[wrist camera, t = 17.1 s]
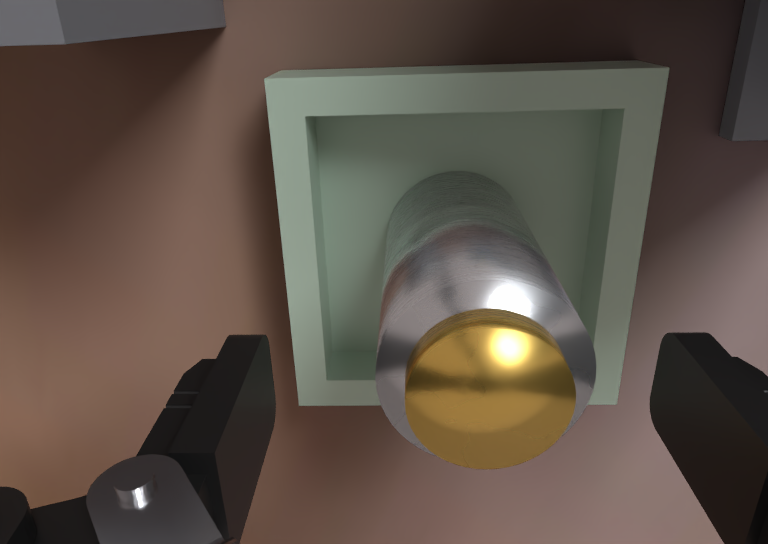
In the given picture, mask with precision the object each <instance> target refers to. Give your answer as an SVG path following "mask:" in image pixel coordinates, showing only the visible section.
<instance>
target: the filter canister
mask: <svg viewBox="0 0 768 544" xmlns="http://www.w3.org/2000/svg"><path fill="white" fill-rule="evenodd" d="M595 380H596V357H595V351H594V347H593V344H592V341H591V338H590V336H589V334H588V332H587V330H586V328H585V326H584V324H583V323H582V321H581V319H580V317H579V315H578V314H577V312H576V310H575V308H574V306H573V305H572V303H571V301H570V299H569V298H568V296H567V294H566V292H565V290H564V289H563V287H562V285H561V283H560V281H559V280H558V278H557V276H556V274H555V272H554V271H553V269H552V267H551V265H550V264H549V262H548V260H547V258H546V256H545V255H544V253H543V251H542V249H541V247H540V246H539V244H538V242H537V240H536V238H535V237H534V235H533V233H532V231H531V230H530V228H529V226H528V224H527V222H526V221H525V219H524V217H523V215H522V213H521V212H520V210H519V208H518V206H517V204H516V203H515V201H514V200H513V198H512V197H511V196H510V194H509V193H508V192H507V191H506V190H505V189H504V188H503V187H502V186H500V185H499V184H498V183H496V182H495V181H493V180H492V179H489V178H487V177H485V176H483V175H480V174H477V173H472V172H467V171H449V172H443V173H438V174H435V175H432V176H429V177H427V178H425V179H423V180H421V181H420V182H418V183H417V184H415V185H414V186H412V187H411V188H410V189H409V190H408V191H407V192H406V193H405V194H404V195H403V196H402V197H401V198H400V200H399V201H398V203H397V204H396V206H395V208H394V210H393V212H392V214H391V217H390V220H389V223H388V229H387V239H386V251H385V263H384V275H383V287H382V299H381V311H380V322H379V334H378V346H377V358H376V374H375V381H376V390H377V394H378V398H379V401H380V404H381V406H382V408H383V411H384V413H385V415H386V416H387V418H388V419H389V421H390V422H391V424H392V425H393V426H394V427H395V429H396V430H397V431H398V432H399V433H400V434H401V435H402V436H403V437H404V438H406V439H407V440H408V441H409V442H411V443H412V444H414V445H415V446H416V447H418V448H420V449H422V450H423V451H425V452H427V453H429V454H432V455H434V456H437V457H439V458H442V459H444V460H446V461H448V462H451V463H453V464H456V465H460V466H463V467H468V468H475V469H498V468H505V467H510V466H514V465H518V464H520V463H523V462H526V461H528V460H530V459H532V458H534V457H536V456H538V455H540V454H541V453H543V452H544V451H546V450H547V449H548V448H549V447H551V446H552V445H553V444H554V443H555V442H556V441H557V440H558V439H559V438H560V437H561V436H562V435H564V434H565V433H566V432H567V431H568V430H569V429H570V428H571V427H572V426H573V425H574V424H575V423H576V421H577V420H578V419H579V417H580V416H581V415H582V413H583V411H584V410H585V408H586V406H587V404H588V402H589V400H590V397H591V395H592V392H593V389H594V384H595Z"/></svg>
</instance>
